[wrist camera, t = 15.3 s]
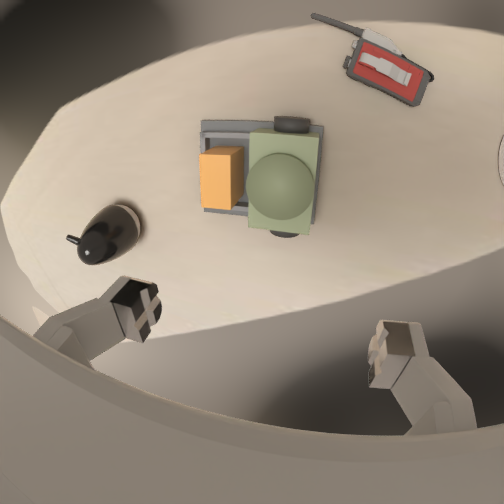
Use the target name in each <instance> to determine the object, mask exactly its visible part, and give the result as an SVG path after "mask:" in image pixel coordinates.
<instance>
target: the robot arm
mask: <svg viewBox="0 0 504 504" xmlns="http://www.w3.org/2000/svg"><path fill="white" fill-rule="evenodd" d="M499 172H500V177H501V180H502V183H503V185H504V137H503V139H502V142H501V145H500V150H499ZM158 292H159V291H158V287H157V285H156V284H155V283H153V282H148V281H144V280H140V279H136V278H131V277H128V276H120V277H119V278H118V279H117V280H116V281H115V282H114V284H113V285H112V286H111V287H110V288H109V289H108V290H107V291H106V292H105V293H104V294H103V295H102V296H101V297H100V298H99V299H98V298H95V299H93V300H90V301H88V302H85V303H83V304H80V305H78V306H76V307H73V308H71V309H68V310H66V311H64V312H61V313H59V314H56V315H54V316H52V317H49V319H48V320H47V321H46V322H45V323H44V324H43V325H42V326H41V327H40V328H39V329H38V330H37V332H36V333H35V334H34V335H33V336H31V335H30V334H28V333H27V332H25V331H24V330H22V329H20V328H19V327H17V326H16V325H14V324H13V323H11V322H10V321H8V320H7V319H6V318H4V317H3V316H1V315H0V504H504V424H499V425H495V426H489V427H484V428H479V429H477V425H476V420H475V415H474V410H473V405H472V400H471V398H470V397H469V396H468V395H467V394H466V393H465V392H464V391H463V390H462V388H461V387H460V386H459V385H458V384H457V383H456V382H455V381H454V380H453V378H452V377H451V376H450V375H449V374H448V373H447V372H446V371H445V370H444V369H443V368H442V367H441V366H440V364H439V363H438V362H437V361H436V360H435V359H434V358H433V357H429V353H428V350H427V346H426V341H425V338H424V334H423V331H422V327H421V325H420V323H415V322H400V321H389V320H380V321H379V323H378V325H377V327H376V330H377V334H376V335H374V336H373V337H372V339H371V342H370V345H369V350H368V362H369V364H370V365H371V368H370V370H369V387H373V388H385V389H386V388H387V389H391V391H392V392H393V394H394V396H395V398H396V399H397V401H398V402H399V404H400V406H401V407H402V409H403V411H404V412H405V414H406V416H407V417H408V419H409V421H410V422H411V424H412V425H413V427H412V428H411V429H410V430H409V431H408V432H407V433H406V434H405V435H404V436H364V435H363V436H362V435H344V434H332V433H321V432H312V431H304V430H297V429H289V428H283V427H277V426H271V425H266V424H260V423H255V422H251V421H246V420H241V419H237V418H232V417H228V416H224V415H220V414H216V413H213V412H209V411H205V410H202V409H198V408H195V407H191V406H188V405H185V404H181V403H178V402H175V401H172V400H169V399H166V398H163V397H160V396H157V395H155V394H152V393H149V392H146V391H144V390H141V389H138V388H136V387H134V386H131V385H128V384H126V383H124V382H121V381H119V380H117V379H114V378H112V377H109V376H107V375H105V374H103V373H101V372H99V371H96V370H94V368H93V366H92V364H91V362H90V360H92V359H94V358H95V357H97V356H98V355H100V354H101V353H103V352H105V351H106V350H108V349H110V348H111V347H113V346H114V345H116V344H118V343H119V342H121V341H123V340H124V339H125V338H127V339H131V340H134V341H137V342H141V343H143V342H144V341H145V340H146V338H147V337H148V335H149V334H150V332H151V328H150V326H152V325H154V324H156V323H157V322H158V320H159V319H160V315H161V312H162V305H161V301H160V299H159V298H158V297H157V296H156V295H157V293H158Z"/></svg>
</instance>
